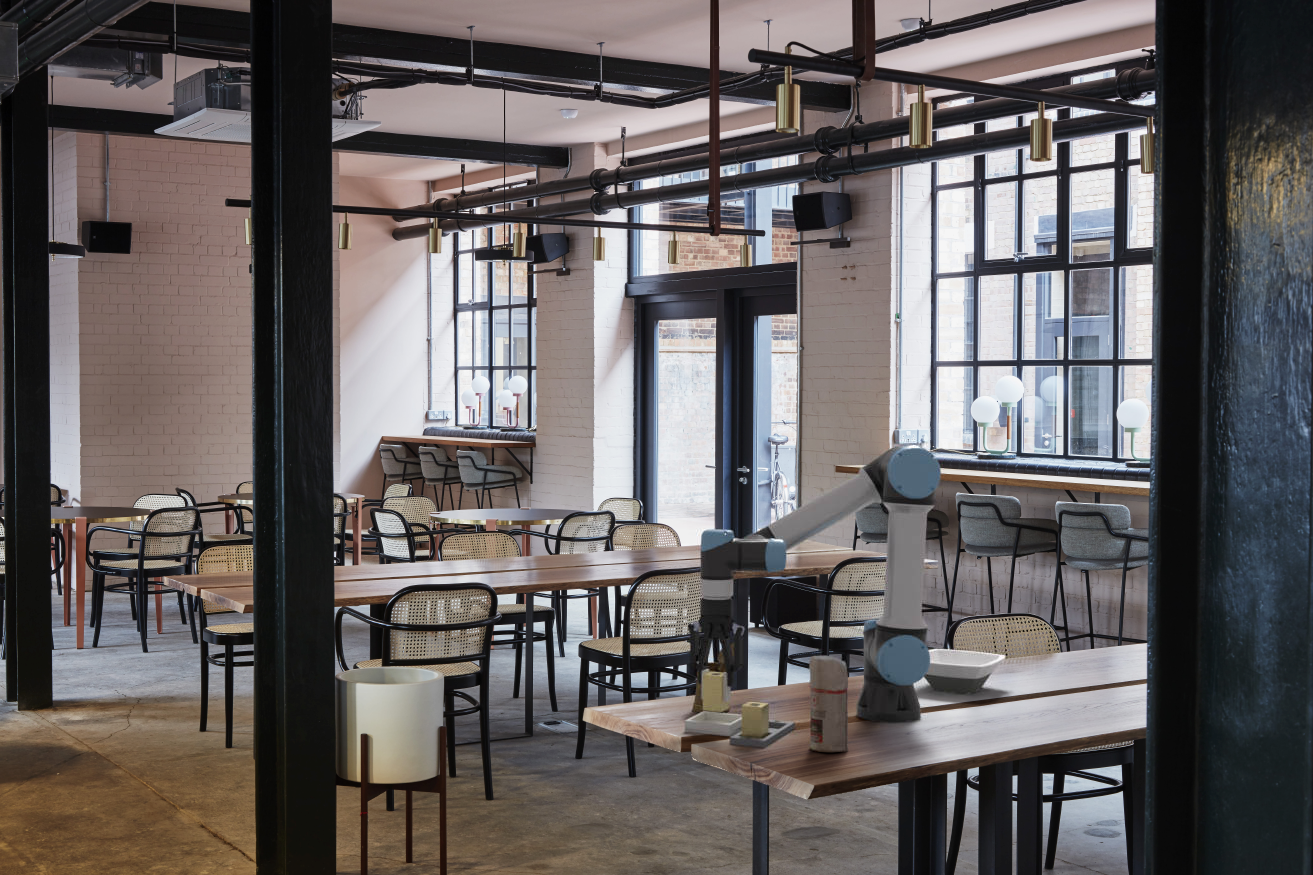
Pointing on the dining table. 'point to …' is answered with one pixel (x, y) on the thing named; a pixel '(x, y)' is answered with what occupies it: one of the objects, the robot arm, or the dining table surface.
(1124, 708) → the dining table surface
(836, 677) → the spray can
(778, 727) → the gray rectangular tray
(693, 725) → the tray
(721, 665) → the wooden mug
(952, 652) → the bowl
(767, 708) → the brass nut
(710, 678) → the brass nut
